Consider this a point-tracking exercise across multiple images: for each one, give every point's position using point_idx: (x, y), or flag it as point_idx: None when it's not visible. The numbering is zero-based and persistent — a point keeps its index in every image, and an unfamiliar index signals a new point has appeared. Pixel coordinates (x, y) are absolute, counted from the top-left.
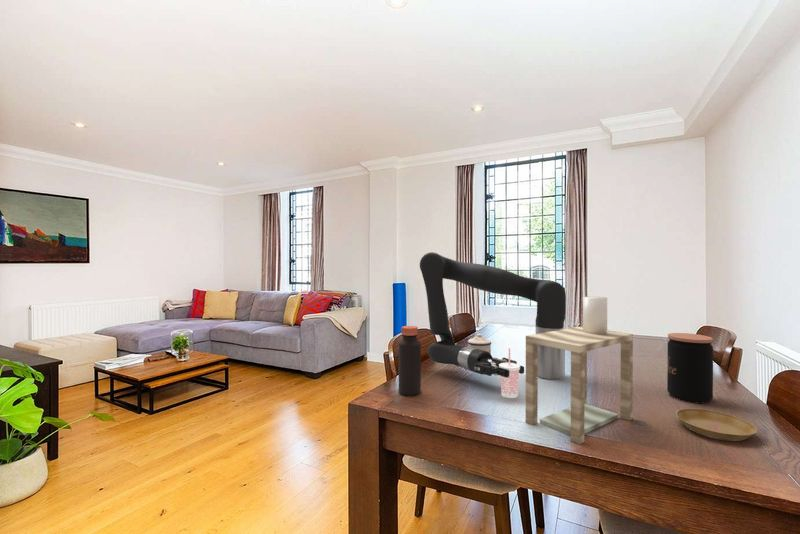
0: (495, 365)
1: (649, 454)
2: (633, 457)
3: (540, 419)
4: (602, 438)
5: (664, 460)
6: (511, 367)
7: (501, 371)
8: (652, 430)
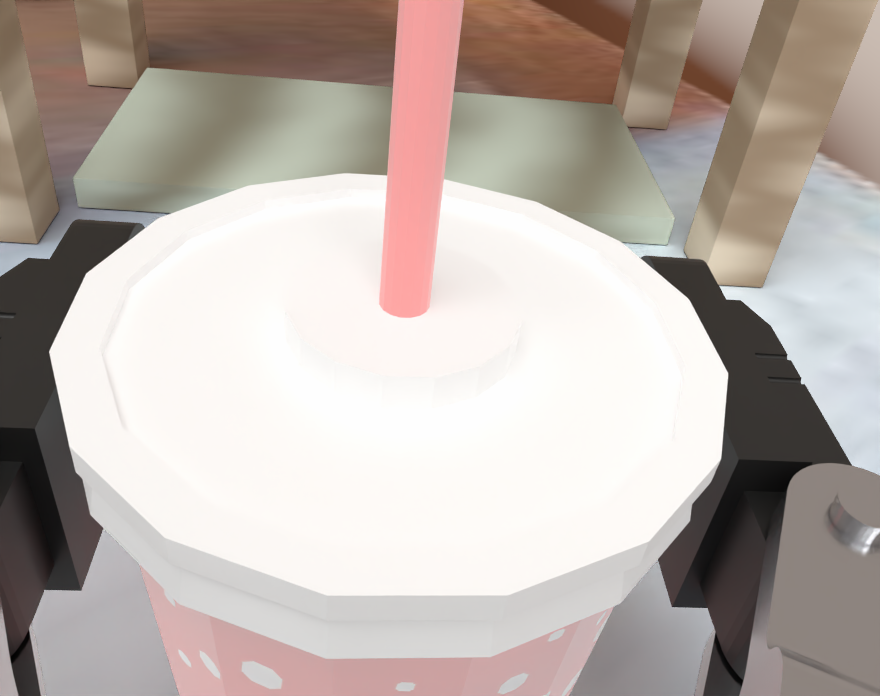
0: (795, 611)
1: (464, 22)
2: (540, 36)
3: (673, 216)
4: (495, 88)
5: (463, 7)
6: (486, 253)
7: (785, 368)
8: (203, 30)
